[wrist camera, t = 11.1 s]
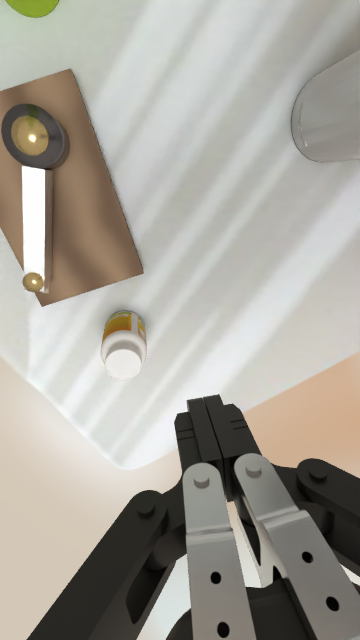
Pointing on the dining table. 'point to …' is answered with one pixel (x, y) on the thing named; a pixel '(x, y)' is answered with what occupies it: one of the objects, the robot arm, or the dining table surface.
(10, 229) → the walnut stand
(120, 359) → the supplement bottle
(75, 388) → the dining table surface
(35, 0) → the soap dispenser
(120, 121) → the dining table surface
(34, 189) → the bar
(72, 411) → the dining table surface
